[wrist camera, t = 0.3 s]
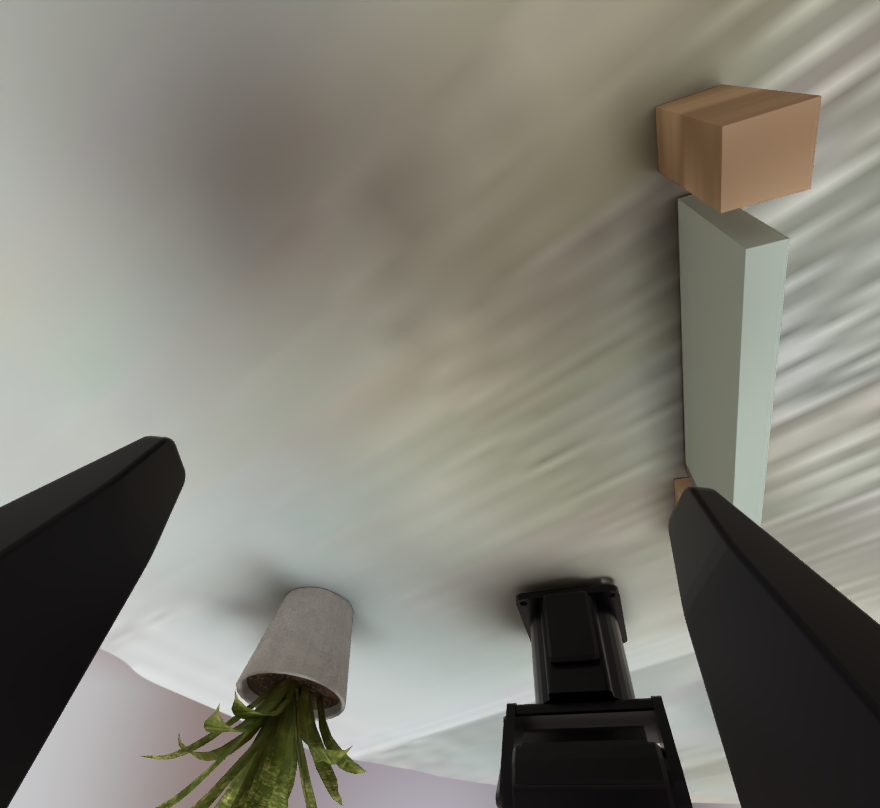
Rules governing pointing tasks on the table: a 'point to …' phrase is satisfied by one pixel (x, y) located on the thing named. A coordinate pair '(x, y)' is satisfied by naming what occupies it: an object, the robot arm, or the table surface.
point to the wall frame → (737, 149)
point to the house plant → (284, 708)
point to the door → (729, 347)
